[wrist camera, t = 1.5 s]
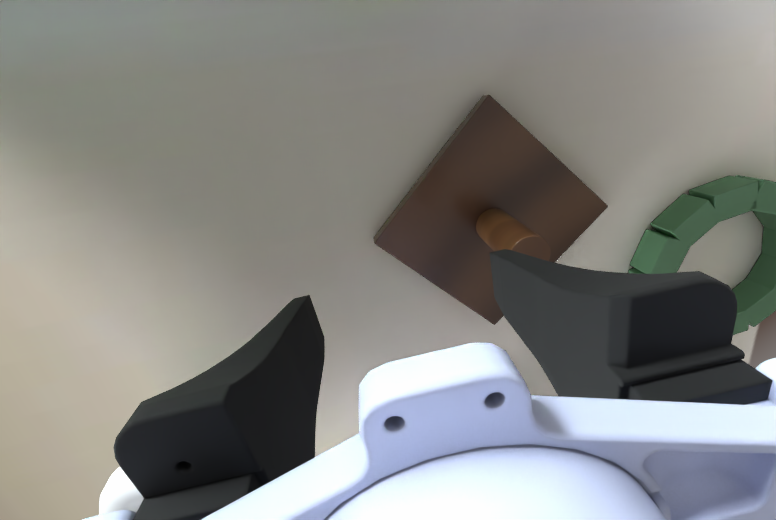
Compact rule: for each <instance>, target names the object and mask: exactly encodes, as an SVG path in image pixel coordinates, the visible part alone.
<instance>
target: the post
mask: <svg viewBox="0 0 776 520" xmlns="http://www.w3.org/2000/svg"><path fill="white" fill-rule="evenodd" d="M607 207H608V205H607V204H605V203H604V202H603V201H602V200H601V199H600V198H599V197H598V196H597V195H596V194H595V193H594V192H593V191H592V190H591V189H589V188H588V187H587V186H586V185H585V184H584V183H583V182H582V181H581V180H580V179H579V178H578V177H577V176H576V175H575V174H573V173H572V172H571V171H570V170H569V169H568V168H567V167H566V166H565V165H564V164H563V163H562V162H561V161H560V160H559V159H557V158H556V157H555V156H554V155H553V154H552V153H551V152H550V151H549V150H548V149H547V148H546V147H545V146H544V145H543V144H541V143H540V142H539V141H538V140H537V139H536V138H535V137H534V136H533V135H532V134H531V133H530V132H529V131H528V130H527V129H525V128H524V127H523V126H522V125H521V124H520V123H519V122H518V121H517V120H516V119H515V118H514V117H513V116H512V115H511V114H509V113H508V112H507V111H506V110H505V109H504V108H503V107H502V106H501V105H500V104H499V103H498V102H497V101H496V100H494V99H493V98H492V97H491V96H490V95H483V96H482V97H481V98H480V100H479V101H478V102H477V104H476V105H475V106H474V108H473V109H472V110H471V111H470V113H469V114H468V115H467V117H466V118H465V119H464V121H463V122H462V123H461V124H460V126H459V127H458V128H457V130H456V131H455V132H454V134H453V135H452V136H451V138H450V139H449V140H448V141H447V143H446V144H445V145H444V147H443V148H442V149H441V151H440V152H439V153H438V154H437V156H436V157H435V158H434V160H433V161H432V162H431V164H430V165H429V166H428V167H427V169H426V170H425V171H424V173H423V174H422V175H421V177H420V178H419V179H418V181H417V182H416V183H415V184H414V186H413V187H412V188H411V190H410V191H409V192H408V194H407V195H406V196H405V197H404V199H403V200H402V201H401V203H400V204H399V205H398V207H397V208H396V209H395V210H394V212H393V213H392V214H391V216H390V217H389V218H388V220H387V221H386V222H385V224H384V225H383V226H382V227H381V229H380V230H379V231H378V233H377V234H376V235H375V237H374V243H375V244H376V245H377V246H379V247H380V248H382V249H383V250H385V251H386V252H388V253H389V254H391V255H392V256H394V257H395V258H397V259H398V260H400V261H401V262H403V263H404V264H405V265H407V266H408V267H410V268H411V269H413V270H414V271H416V272H417V273H419V274H420V275H422V276H423V277H425V278H426V279H428V280H429V281H431V282H432V283H433V284H435V285H436V286H438V287H439V288H441V289H442V290H444V291H445V292H447V293H448V294H450V295H451V296H453V297H454V298H456V299H457V300H459V301H460V302H461V303H463V304H464V305H466V306H467V307H469V308H470V309H472V310H473V311H475V312H476V313H478V314H479V315H481V316H482V317H484V318H485V319H487V320H488V321H490V322H491V323H492V324H494V325H495V324H496V323H497V322H498V321H499V320H500V319H501V318H502V317H503V316H504V315H503V313H502V311H501V309H500V307H499V305H498V303H497V302H496V300H495V297H494V289H493V280H492V271H491V262H490V252H494V251H499V250H503V249H508V250H512V251H516V252H519V253H523V254H526V255H529V256H532V257H536V258H539V259H542V260H546V261H550V262H553V263H554V262H555V261H556V260H557V259H558V258H559V257H560V256H561V255H562V254H563V253H564V252H565V251H566V250H567V249H568V248H569V247H570V246H571V245H572V244H573V243H574V241H575V240H576V239H577V238H578V237H579V236H580V235H581V234H582V233H583V232H584V231H585V230H586V229H587V228H588V227H589V226H590V225H591V224H592V223H593V222H594V221H595V220H596V218H597V217H598V216H599V215H600V214H601V213H602V212H603V211H604V210H605V209H606V208H607Z"/></svg>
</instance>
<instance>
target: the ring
mask: <svg viewBox="0 0 776 520" xmlns="http://www.w3.org/2000/svg"><path fill="white" fill-rule="evenodd" d="M749 211H753V212H754V214H755V215H756V216H757V218H758V219H759V221H760V222H761V223H762V225H763V226H764V230H763V243H762V254H761V255H760V257H759V258H758V260H757V262H756V263H755V265H754V267H753V268H752V270H751V272H750V273H749V275H748V277H747V278H746V279H745V280H744V281H742V282H741V283H740V284H739V285H737V286H736V287H735V288H734V289H732V291H733V292H734V293H735V296H736V300H737V317H736V321H735V326H734V331H733V335H734V334H737V333H741V332H744V331H747V330H748V325H751V326H753V327H755V326H756V325H757V324H759V323H760V322H761V321H763V320H764V319H765V318H767V317H768V316H769V315H771V314H772V313H773V312H775V311H776V182H773V181H769V180H763V179H757V178H752V177H746V176H740V175H736V176H735V177H734V176H727V177H724V178H721V179H718V180H716V181H713V182H710V183H707V184H704V185H702V186H699V187H696V188H693V189H690V190H689V195H686V194H682V195H681V196H680V197H679V198H678V199H677V200H676V201H675V202H674V203H672V204H671V205H670V206H669V207H668V208H667V209H666V210H665V211H664V212H663V213H661V214H660V215H659V216H658V217H657V218H656V219H655V220H654V221H653V222H652V223H651V225H652V226H653V228H654V229H655V230H656V231H655V230H649V229H646V231H645V233H644V235H643V237H642V239H641V241H640V243H639V246H638V248H637V250H636V252H635V254H634V256H633V258H632V261H631V263H630V265H631V266H633V267H635V268H633V269H630V270H628V271H629V273H632V274H664V273H677V271H678V269H679V267H680V265H681V264H682V262H683V260H684V258H685V256H686V254H687V252H688V250H689V248H690V246H691V245H693V244H694V243H695V242H696V241H697V240H698V239H700V238H701V237H702V236H703V235H704V234H705V233H707V232H708V231H709V230H710V229H711V228H712V227H713V226H715V225H716V224H717V223H718V222H720V221H723V220H726V219H729V218H732V217H734V216H737V215H740V214H743V213H746V212H749Z"/></svg>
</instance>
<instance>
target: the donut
mask: <svg viewBox="0 0 776 520" xmlns="http://www.w3.org/2000/svg"><path fill="white" fill-rule="evenodd" d="M143 499H144V498H143V496H142V495H141V494H140V492H139V491H138V490H137V489H136V487H135V486H134V485H133V483H132V482H131V481H130V479H129V478H128V477H127V475H126V474H125V473H124V471H123V470H122V469H121V467H119V468H118V469H116V471H115V472H114V473H113V474H112V475H111V476H110V478H109V480H108V482H107V484H106V486H105V487H104V489H103V491H102V493H101V496H100V502H99V515H101V514H106V513H110V512H114V511H118V510H131V511H134V512H137V511H138V509H139V507H140V505H141V503H142V501H143Z"/></svg>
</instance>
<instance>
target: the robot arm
mask: <svg viewBox="0 0 776 520" xmlns="http://www.w3.org/2000/svg"><path fill="white" fill-rule="evenodd" d="M490 262H491V271H492V280H493V289H494V297H495V300H496V302H497V303H498V305H499V307H500V309H501V311H502V313H503V315H504V316H505V318H506V319H507V321H508V322H509V323H510V325H511V326H512V327H513V329H514V330H515V331H516V333H517V334H518V335H519V337H520V338H521V339H522V341H523V342H524V343H525V344H526V346H527V347H528V348H529V350H530V351H531V352H532V354H533V355H534V356H535V358H536V359H537V361H538V362H539V364H540V365H541V367H542V368H543V370H544V372H545V373H546V375H547V377H548V379H549V380H550V382H551V384H552V385H553V387H554V389H555V391H556V392H557V394H558V396H537V395H531V394H530V392H529V390H528V387H527V385H526V383H525V381H524V379H523V378H522V376H521V374H520V373H519V371H518V369H517V368H516V366H515V365H514V363H513V361H512V360H511V358H510V357H509V355H508V353H507V352H506V351H505V350H503V349H502V348H500V347H498V346H496V345H494V344H492V343H469V344H464V345H460V346H456V347H451V348H447V349H443V350H439V351H434V352H430V353H426V354H422V355H417V356H413V357H409V358H404V359H400V360H396V361H392V362H387V363H385V364H383V365H381V366H379V367H377V368H375V369H373V370H370V371H369V372H368V374H367V375H366V376H365V378H364V379H363V380H362V382H361V383H360V384H359V434H357V435H355V436H353V437H351V438H349V439H348V440H346V441H344V442H342V443H340V444H338V445H337V446H335V447H333V448H331V449H329V450H327V451H326V452H324V453H322V454H320V455H318V456H316V457H315V427H316V412H317V404H318V397H319V391H320V385H321V378H322V372H323V365H324V335H323V332H322V329H321V327H320V324H319V321H318V318H317V315H316V312H315V310H314V307H313V304H312V301H311V298H310V295H307V296H303V297H299V298H295V299H293V300H292V301H291V302H290V303H288V304H287V305H286V306H285V307H284V308H283V309H282V310H281V311H280V312H279V313H278V314H277V315H276V316H275V317H274V318H273V319H272V320H271V321H270V322H269V323H268V324H267V325H266V326H265V327H264V328H263V329H262V330H261V331H260V332H259V333H258V334H256V335H255V336H254V337H253V338H252V339H251V340H250V341H249V342H247V343H246V344H245V345H244V346H242V347H241V348H240V349H238V350H237V351H236V352H234V353H233V354H232V355H230V356H229V357H227V358H226V359H224V360H223V361H221V362H219V363H218V364H216V365H215V366H213V367H212V368H210V369H209V370H207V371H205V372H203V373H202V374H200V375H198V376H196V377H194V378H193V379H191V380H189V381H187V382H185V383H183V384H181V385H179V386H177V387H175V388H173V389H170V390H168V391H166V392H164V393H161V394H159V395H157V396H154V397H152V398H150V399H148V400H145V401H143V402H141V403H140V405H139V406H138V408H137V409H136V410H135V412H134V413H133V415H132V416H131V417H130V419H129V420H128V422H127V423H126V424H125V426H124V427H123V429H122V430H121V432H120V433H119V434H118V436H117V437H116V440H115V444H114V453H115V458H116V460H117V462H118V464H119V465H120V467H121V469H122V470H123V471H124V473H125V474H126V475H127V477H128V478H129V479H130V481H131V482H132V483H133V485H134V486H135V487H136V489H137V490H138V491H139V492H140V494H141V495H142V496H143V498H144V499H143V501H142V503H141V505H140V507H139V509H138V511H137V512H134V511H131V510H118V511H114V512H110V513H106V514H101V515H97V516H93V517H88V518H85V519H82V520H776V358H773V359H769V360H766V361H764V362H762V363H761V364H759V365H758V366H757V367H756V369H755V368H753V367H752V366H750V365H749V364H747V363H745V362H744V361H742V360H741V359H744V356H745V354H744V352H743V351H742V350H740V349H739V348H737V347H736V346H734V345H732V344H731V341H732V336H733V331H734V326H735V321H736V317H737V300H736V296H735V293H734V292H733V291H732V290H731V288H730V287H729V286H728V285H726V284H724V283H722V282H720V281H718V280H716V279H714V278H712V277H710V276H708V275H706V274H704V273H702V272H700V271H696V272H680V273H664V274H632V273H614V272H602V271H594V270H588V269H581V268H575V267H570V266H566V265H562V264H557V263H553V262H550V261H546V260H542V259H539V258H536V257H532V256H529V255H526V254H523V253H519V252H516V251H512V250H508V249H503V250H499V251H494V252H490Z"/></svg>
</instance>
